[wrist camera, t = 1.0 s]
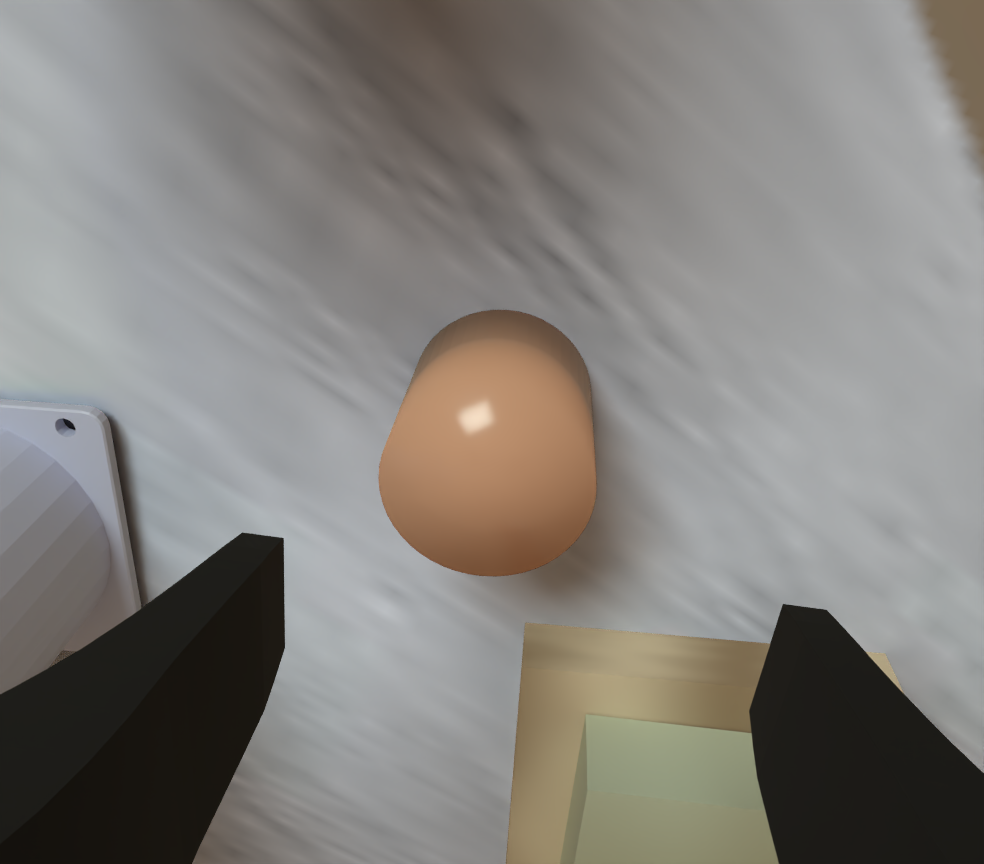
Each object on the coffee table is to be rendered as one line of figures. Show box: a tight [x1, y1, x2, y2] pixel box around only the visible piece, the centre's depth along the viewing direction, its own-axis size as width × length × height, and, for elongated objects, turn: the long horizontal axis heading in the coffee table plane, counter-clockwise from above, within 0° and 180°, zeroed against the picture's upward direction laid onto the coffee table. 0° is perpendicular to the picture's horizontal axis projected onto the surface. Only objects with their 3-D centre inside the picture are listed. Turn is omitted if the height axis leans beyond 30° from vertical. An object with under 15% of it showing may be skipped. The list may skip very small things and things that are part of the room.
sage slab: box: [560, 714, 779, 864], centre depth 24 cm, size 7×7×2 cm
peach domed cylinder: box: [379, 310, 597, 576], centre depth 20 cm, size 4×4×4 cm
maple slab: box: [506, 623, 904, 864], centre depth 26 cm, size 10×10×2 cm
